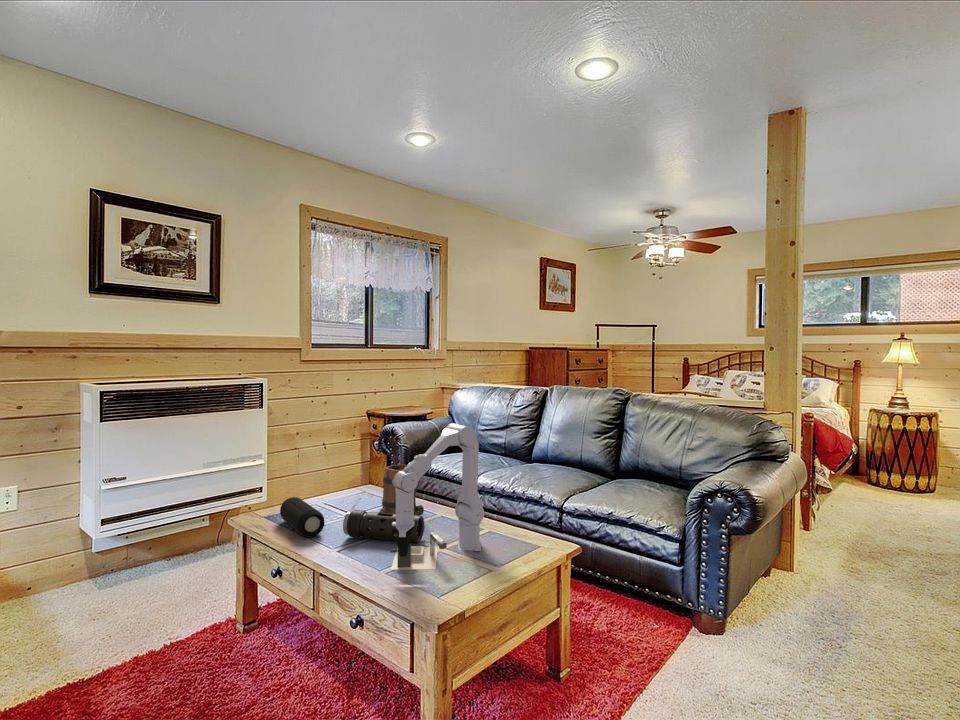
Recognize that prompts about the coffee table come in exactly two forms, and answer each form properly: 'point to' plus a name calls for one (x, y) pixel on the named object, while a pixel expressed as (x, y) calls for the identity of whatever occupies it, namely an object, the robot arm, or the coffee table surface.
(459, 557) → the coffee table surface
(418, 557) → the socket base
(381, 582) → the coffee table surface
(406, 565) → the plug
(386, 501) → the tankard
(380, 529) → the muzzle brake
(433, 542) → the clip
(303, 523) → the portable speaker
